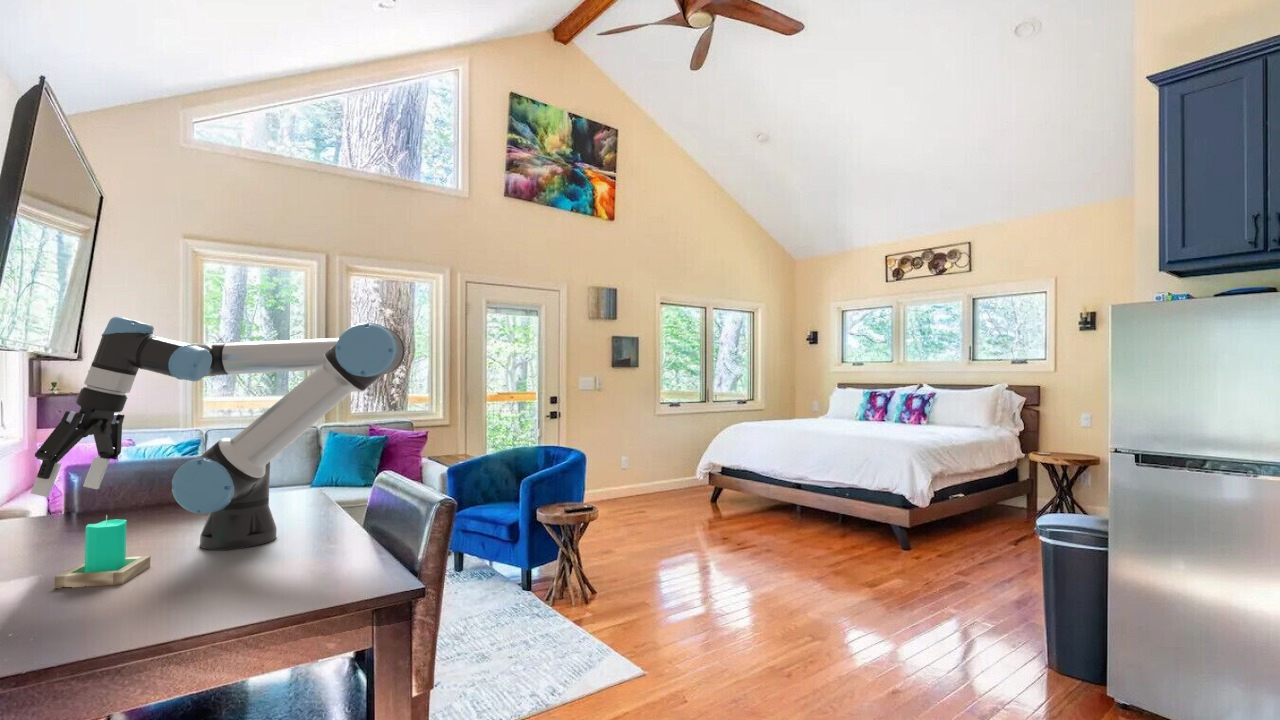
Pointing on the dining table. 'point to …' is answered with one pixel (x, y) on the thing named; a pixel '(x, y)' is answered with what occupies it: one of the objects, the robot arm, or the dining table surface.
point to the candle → (105, 546)
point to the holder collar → (102, 574)
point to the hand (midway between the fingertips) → (66, 491)
